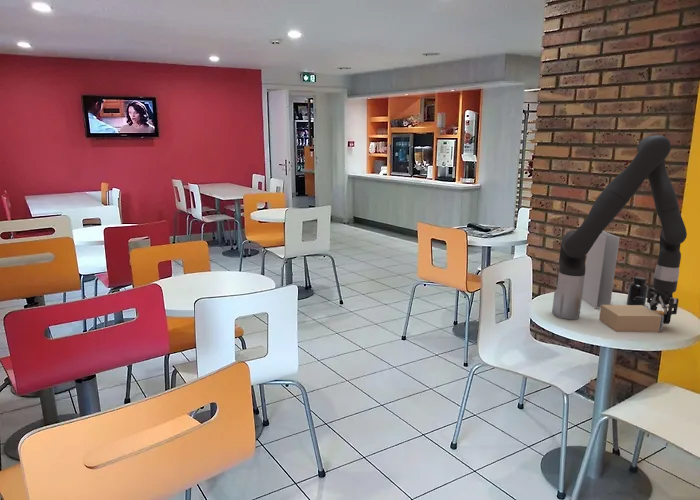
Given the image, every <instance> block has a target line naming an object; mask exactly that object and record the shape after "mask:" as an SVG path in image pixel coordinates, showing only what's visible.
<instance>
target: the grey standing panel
mask: <svg viewBox="0 0 700 500" xmlns="http://www.w3.org/2000/svg"><path fill="white" fill-rule="evenodd" d="M620 241H621V238H620V236H617V235H614V234H611V233H609V232H608V231H604V230H603V231H602V233H601V234H600V235H599V237H598V238H597V240H596V241H595V243H594V244H593V246H592V247H591V249H590V250H589V252H588V253H587V254H586V257H585V268H586V270H585V278H584V285H583V293H582V300H583V301H584V302H585V303H586V304H588V305H589V306H591V307H592V308H594V309H595V310H597V309H598V308H597V307H598V306H599V307H601V305H611V302H612V295H613V288H614V281H615V273H616V268H617V259H618V253H619V252H618V251H619V246H620Z"/></svg>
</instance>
